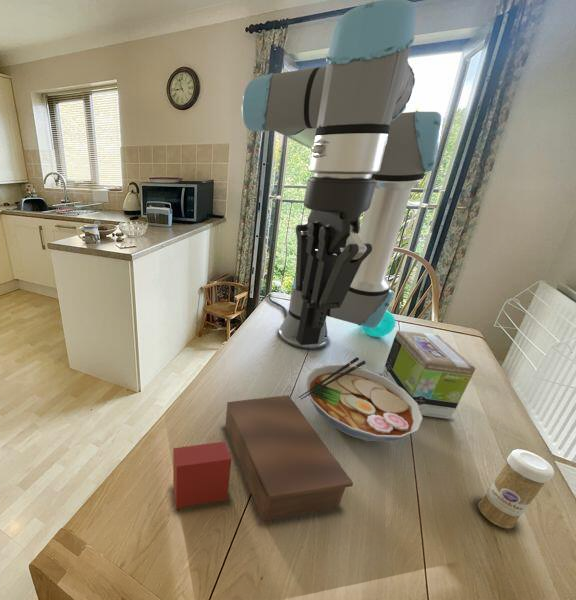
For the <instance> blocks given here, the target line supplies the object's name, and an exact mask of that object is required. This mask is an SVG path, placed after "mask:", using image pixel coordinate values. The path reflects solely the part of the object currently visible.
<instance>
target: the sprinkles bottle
mask: <svg viewBox="0 0 576 600" xmlns="http://www.w3.org/2000/svg"><path fill="white" fill-rule="evenodd" d="M554 475H555V470H554V467H553V466H552V465H551V464H550V463H549V461H547V460H545V459H544V458H543V457H541V456H540V455H537V454H536V453H534V452H531V451H528V450H525V449H517V448H516V449H514V450H512V451H511V453H510V454H509V455H508V457H507V460H506V462H505V464H504V466H503V467H502V468H501V470H500V471H499V472H498V473H497V475H496V477H495V478H494V480H493V481H492V483H491V484H490V486H489V488H488V489H487V491H486V493H485V495H484V496H483V498H482V499H481V500H480V501H479V502H478V504H477V507H478V508H477V509H479V512H480V513H481V515H482V516H483V517H484V518H486V519H487V520H488V521H489V522H490V523H492V524H493V525H495V526H497V527H499V528H503V529H507V530H508V529H512V528H514V526H515V525H516V522H517V521H518V520H519V518H520V517H521V516H522V515H523V514H524V513H525V511H526V510H527V509H528V508H529V506H530V505H531V503H533V501H534V499H535V498H536V497H537V496H538V493H539V492H540V490H541V489H542V488H543V487H544V486H545V484H547V483H549V482H550V481H551V479H552V478H553V476H554Z"/></svg>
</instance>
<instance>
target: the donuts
mask: <svg viewBox="0 0 576 600" xmlns="http://www.w3.org/2000/svg"><path fill="white" fill-rule="evenodd" d="M396 323H397V322H396V317H395V316H394V315H393V313H391V312H390V311H389V310H388V309H387V310H386V312H385V314H384V316H383V318H382V320H381V322H380V324H379V325H378V326H377V327H374V328H370V327H366V326H362V325H361V326H360V327H361V329H362V331H363V332H364V333H365V334H366V335H368V336H370V337H372V338H373V337H374V338H380V337H385V336H387V335H389V334H390V333H391V332H393V330H394V329H395V328H396Z"/></svg>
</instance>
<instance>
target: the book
mask: <svg viewBox="0 0 576 600" xmlns="http://www.w3.org/2000/svg"><path fill="white" fill-rule="evenodd" d="M172 453H173V455H172V456H173V457H172V459H173V460H172V462H173V463H172V464H173V466H172V467H173V468H172V469H173V471H172V475H173V481H172V482H173V483H172V485H173V487H172V489H173V499H174V504H175V511H180V510H181V507H185V506H186V507H187V506H193V505H198V504H199V505H200V504H205V503H213V502H217V501H223V500H227V499H228V494H229V486H230V485H229V484H230V477H231V476H230V475H231V467H232V456H231V454H230V451H229V448H228V445H227V442H226V441H218V442H217V441H216V442H209V443H202V444H195V445H187V446H179V447H173V452H172Z"/></svg>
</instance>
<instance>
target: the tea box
mask: <svg viewBox="0 0 576 600" xmlns="http://www.w3.org/2000/svg"><path fill="white" fill-rule="evenodd" d="M475 371H476V367H475V366H474V364H472V363H471V362H469V360H467V359H466V358H465V357H464V356H462V354H461V353H459V352H458V351H457V350H456V349H455V348H454V347H452V346H451V345H450V344H449V343H448V342H447V341H446V340H444V339H443V338H442V337H441V336H440V335H439V334H435V333H424V332H413V331H406V330H405V331H404V330H396V334H395V336H394V338H393V340H392V345H391V346H390V350H389V352H388V355H387V359H386V362H385V364H384V366H383V369H382V373H381V376H383V377H385V378H387V379H389V380H390V381H392V382H393V383H395V384H396V385H398V386H399V387H401V388H402V389H404V390H405V391H406V392H407V393H408V394H409V395H410V396H411V397H412V398H413V399H414V400H415V401H416V402H417V404H418V406H419V409H420V411H421V414H422V416H425V417H431V418H439V419H445V420H446V419H447V420H450V419H452V416H453V415H454V413H455V411H456V409H457V407H458V405H459V404H460V401H461V400H462V397H463V395H464V393H465V391H466V390H467V387H468V384H469V383H470V381H471V379H472V377H473V375H474V373H475Z"/></svg>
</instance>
